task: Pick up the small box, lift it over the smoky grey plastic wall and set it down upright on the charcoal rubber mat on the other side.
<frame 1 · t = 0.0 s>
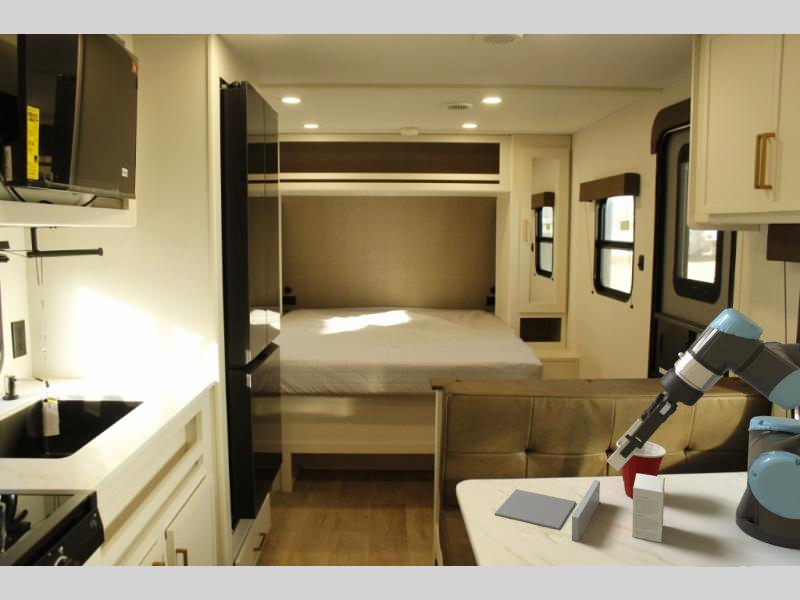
hand: (618, 454, 122), 15 cm above the table, tool tilted 35°, fingers open, 13 cm apart
small box: (647, 532, 121), on the table
low wall: (586, 519, 126), on the table
plastic cup: (639, 496, 138), on the table
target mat: (535, 508, 132), on the table
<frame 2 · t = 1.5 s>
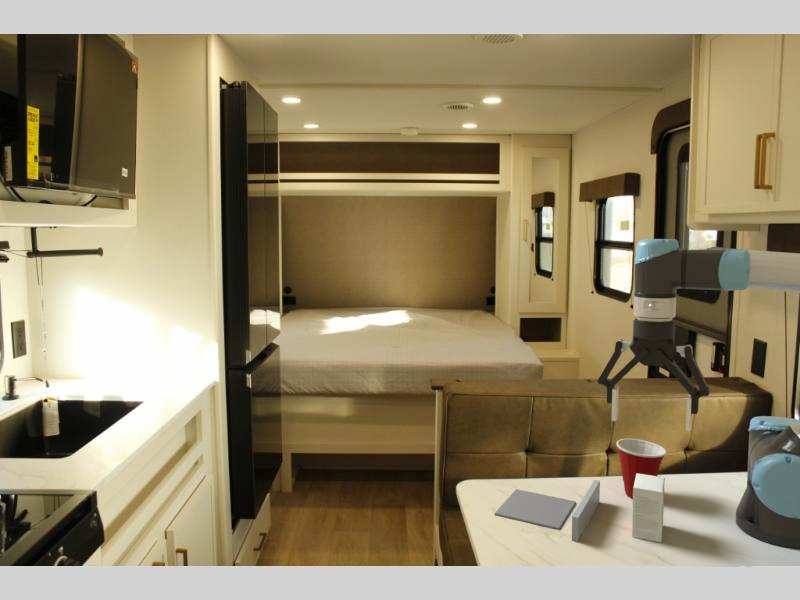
hand: (650, 424, 118), 23 cm above the table, tool pointing down, fingers open, 13 cm apart
nothing on the table moved.
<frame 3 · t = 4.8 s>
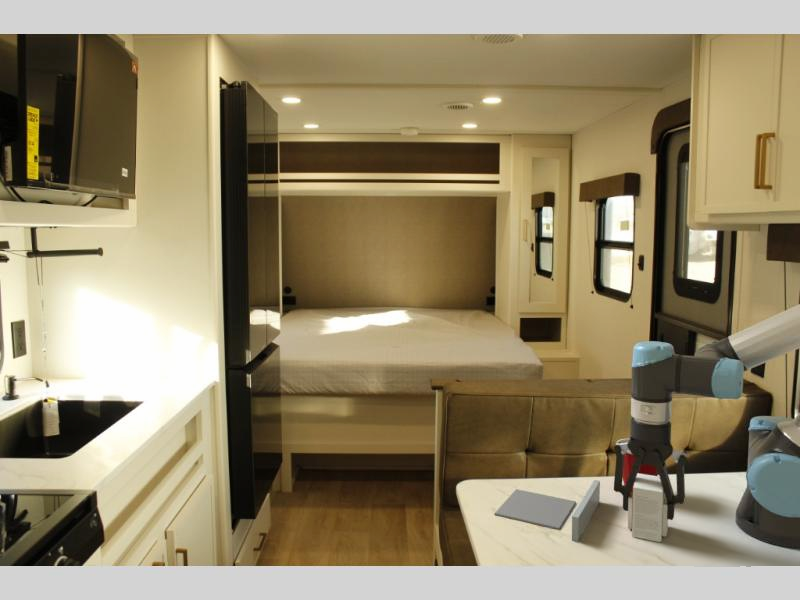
hand: (647, 529, 121), 0 cm above the table, tool pointing down, fingers closed on small box, 6 cm apart
small box: (647, 532, 121), on the table, touching gripper
everything else where it was.
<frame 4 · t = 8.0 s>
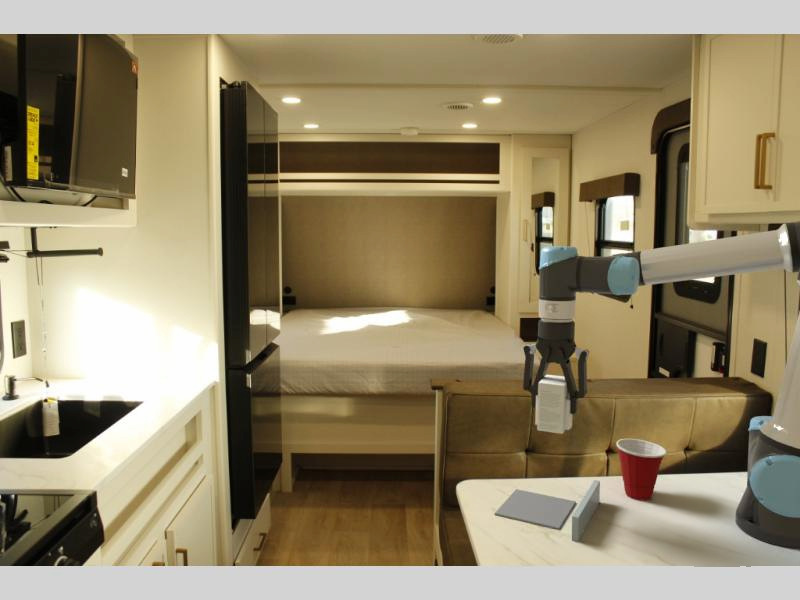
hand: (553, 425, 128), 20 cm above the table, tool pointing down, fingers closed on small box, 6 cm apart
small box: (553, 427, 128), point 19 cm above the table, touching gripper
everything else where it was.
when the fingers open (2 cm above the table, at t = 11.3 s): small box drops 2 cm, resting on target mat.
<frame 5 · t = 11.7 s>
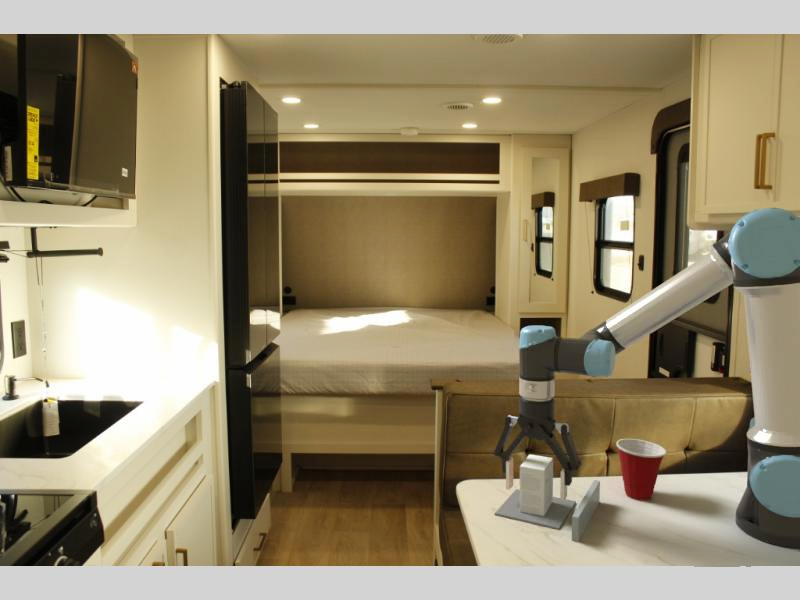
hand: (536, 492, 132), 4 cm above the table, tool pointing down, fingers open, 11 cm apart
small box: (536, 508, 132), resting on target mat
everything else where it was.
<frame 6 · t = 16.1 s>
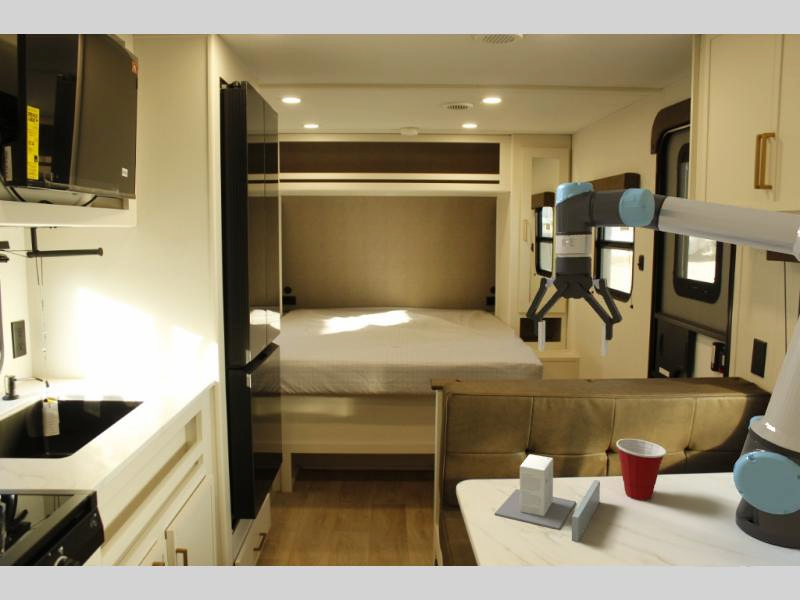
hand: (572, 352, 130), 35 cm above the table, tool pointing down, fingers open, 13 cm apart
nothing on the table moved.
at the end: small box inside the target area on the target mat (0.1 cm from its centre), point 0.2 cm above the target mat's base; small box tilted 0°; the gripper is holding nothing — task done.
